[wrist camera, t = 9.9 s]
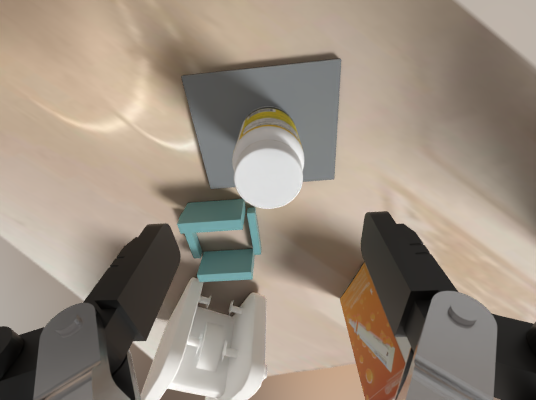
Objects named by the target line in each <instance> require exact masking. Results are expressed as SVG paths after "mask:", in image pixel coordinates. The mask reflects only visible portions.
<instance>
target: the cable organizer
mask: <svg viewBox="0 0 536 400" xmlns="http://www.w3.org/2000/svg"><path fill="white" fill-rule="evenodd" d="M202 287H203V282H199V280H198V279H197V278H194V277H192V278H191V279H190V281H189V283H188V284H187V286H186V288H185V290H184V292H183V294H182V296H181V298H180V300H179V302H178V304H177V306H176V308H175V310H174V311H173V313H172V315H171V317H170V319H169V321H168V323H167V325H166V328H165V330H164V333H163V335H162V338H161V341H160V343H159V346H158V349H157V352H156V354H155V357H154V360H153V363H152V365H151V368H150V371H149V373H148V377H147V379H146V382H145V385H144V387H143V390H142V393H141V395H140V398H141V400H159V399H160V398H161V396H162V395H163V394H164V392H165V391H166V389H167V388H168V389H173V390H178V391H183V392H188V393H193V394H198V395H203V396H206V397H205V400H247V399H249V398H250V397H251V396H252V395H254V394H255V393H256V392H257V390H258V389H259V388H260V387H261V383H262V381H263V380H264V378H266V377H267V364H265V358H266V305H267V301H266V297H265V296H263V295H260V294H257V293H254V292H253V293H251V294H250V295H249V296H248V297H247V298H246V300H245V301H244V302H243V303H242V305H241V306H240V307H236V306H233V302H232V300H231V304H230V308H229V315H230V312H233V313H235V314H234V315H233V317H232V316H229V315H226V314H222V313H219V312H215V311H212V310H208V309H205V308H202V307H198V302H200V303H203V304H206V305H207V308H208V306H209V304H210V300H211V296H212V295H211V296H210V297H209V298H207V297H203V296H200V295H201V291H202ZM233 301H234V300H233Z"/></svg>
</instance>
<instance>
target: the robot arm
mask: <svg viewBox="0 0 536 400" xmlns="http://www.w3.org/2000/svg"><path fill="white" fill-rule="evenodd" d="M361 251H362V256H363V259H364V261H365V264H366V266H367V269H368V271H369V274H370V276H371V279H372V281H373V284H374V286H375V289H376V291H377V294H378V296H379V299H380V301H381V304H382V306H383V309H384V312H385V314H386V317H387V319H388V322H389V324H390V327H391V329H392V332H393V334H394V337H407V339H408V341H409V343H410V346H411V348H410V350H409V353H408V357H407V360H406V363H405V366H404V369H403V373H402V376H401V379H400V382H399V385H398V389H397V392H396V395H395V398H394V400H493V398H494V397H495V398H498V399H501V400H536V322H535V323H534V324H532V323H528V322H524V321H519V320H515V319H511V318H507V317H502V316H498V315H495V314H492V313H490V311H489V310H488V309H487V308H486V307H485V306H484V305H482V304H481V303H480V302H478V301H477V300H475V299H474V298H472V297H470V296H468V295H465V294H462V293H459V292H458V291H457V290H456V288H455V287H454V285H453V284H452V283H451V281H450V280H449V278H448V277H447V276H446V274H445V273H444V272H443V270H442V269H441V267H440V266H439V265H438V263H437V262H436V260H435V259H434V258H433V256H432V255H431V254H430V253H429V251H428V249H427V248H426V247H425V245H423V242H422V241H421V240H420V238H419V237H418V235H417V234H416V233H415V232H414V231H413V230H411V229H410V228H409V227H407V226H406V225H404V224H396V223H395V221H394V220H393V218H392V217H391V215H390V214H389V212H387V211H384V212H367V213H366V214H365V218H364V225H363V231H362V238H361ZM179 263H180V250H179V247H178V245H177V242H176V240H175V237H174V235H173V232H172V230H171V228H170V226H169V225H168V224H166V223H165V224H149V225H147V226H146V227H145V228H144V230H143V231H142V233H141V234H140V235H139V237H136V238H134V239H133V240H132V241H131V242H129V243H128V244H127V245H126V246H124V248H123V249H122V250H121V252H120V253H119V255H118V256H117V259H115V260H114V261H113V263H112V264H111V265H110V266H111V267H110V268H108V269H107V271H106V272H105V274H104V275H103V276H102V278H101V279H100V280H99V282H98V283H97V284H96V286H95V287H94V289H93V290H92V291H91V293H90V294H89V295H88V297H87V298H86V299H85V301H84V302H83V303H79V304H75V305H73V306H70V307H68V308H66V309H64V310H63V311H61V312H60V313H58V314H57V315H56V316H55V317H54V318H52V319H51V320H50V322H49V323H48V324H47V325H46V326H45V327H43V328H40V329H37V330H34V331H31V332H28V333H24V334H21V335H18V334H17V333H15V332H14V331H13V330H11V329H10V328H9V327H4V326H3V327H0V400H141V398H140V393H139V388H138V384H137V380H136V375H135V370H134V366H133V361H132V356H131V353H130V351H129V348H130V346H131V344H132V342H133V341H146V340H147V337H148V335H149V333H150V330H151V328H152V326H153V323H154V321H155V319H156V316H157V314H158V312H159V310H160V307H161V305H162V303H163V300H164V298H165V296H166V293H167V291H168V289H169V287H170V284H171V282H172V280H173V277H174V275H175V273H176V270H177V268H178V266H179Z"/></svg>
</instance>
